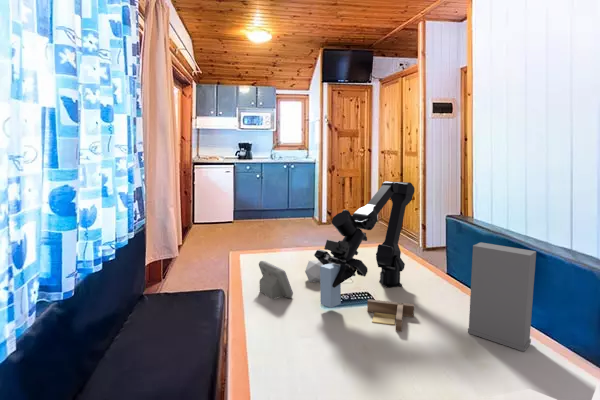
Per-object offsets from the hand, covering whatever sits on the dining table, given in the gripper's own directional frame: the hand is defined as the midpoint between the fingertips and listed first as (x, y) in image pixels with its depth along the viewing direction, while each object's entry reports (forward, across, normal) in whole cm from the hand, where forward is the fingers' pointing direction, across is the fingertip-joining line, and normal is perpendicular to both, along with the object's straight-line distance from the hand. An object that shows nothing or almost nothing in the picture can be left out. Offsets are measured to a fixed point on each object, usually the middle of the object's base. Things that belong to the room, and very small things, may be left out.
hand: (327, 284), depth 117 cm
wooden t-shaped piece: (0, +17, +12) cm, 21 cm away
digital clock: (+8, -24, +5) cm, 26 cm away
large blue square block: (+4, 0, +6) cm, 7 cm away
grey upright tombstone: (-8, +44, +21) cm, 49 cm away
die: (-6, -23, +19) cm, 30 cm away
